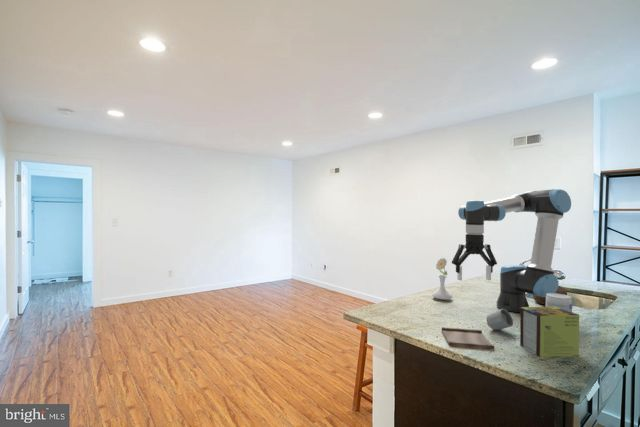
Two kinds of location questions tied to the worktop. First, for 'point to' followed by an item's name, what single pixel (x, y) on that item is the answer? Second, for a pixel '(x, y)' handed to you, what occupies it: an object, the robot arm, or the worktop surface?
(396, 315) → the worktop surface
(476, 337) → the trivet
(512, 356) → the worktop surface
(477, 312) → the worktop surface
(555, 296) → the supplement tub
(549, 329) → the protein box
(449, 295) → the flower in vase
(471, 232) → the robot arm
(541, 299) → the bread
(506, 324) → the ceramic mug
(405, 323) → the worktop surface
